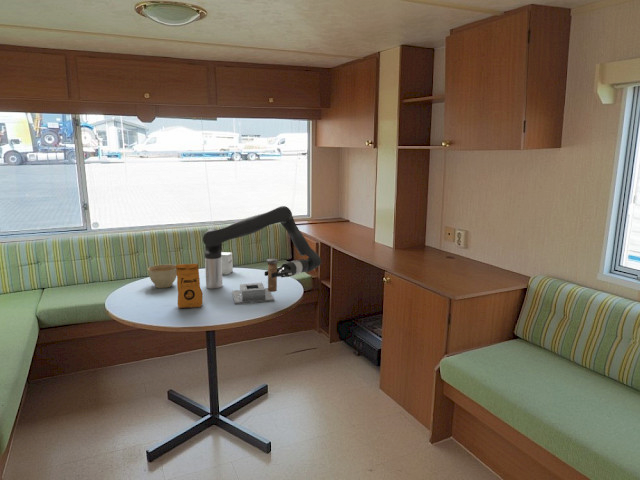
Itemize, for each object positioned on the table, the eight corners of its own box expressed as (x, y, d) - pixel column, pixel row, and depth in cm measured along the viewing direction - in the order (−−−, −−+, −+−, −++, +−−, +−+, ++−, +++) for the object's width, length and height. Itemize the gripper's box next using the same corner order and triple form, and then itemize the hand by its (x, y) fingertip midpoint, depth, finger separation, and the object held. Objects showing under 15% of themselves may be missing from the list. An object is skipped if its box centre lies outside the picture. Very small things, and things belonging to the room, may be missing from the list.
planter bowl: (177, 289, 257) (176, 270, 254) (147, 291, 253) (146, 272, 251) (179, 281, 272) (178, 263, 270) (150, 282, 268) (149, 264, 266)
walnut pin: (267, 292, 228) (267, 261, 225) (266, 289, 234) (266, 258, 230) (278, 291, 230) (278, 261, 226) (276, 288, 235) (276, 258, 232)
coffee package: (202, 308, 225) (200, 265, 221) (176, 310, 223) (173, 266, 219) (204, 302, 235) (202, 260, 231) (179, 303, 233) (176, 261, 229)
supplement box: (228, 274, 286) (228, 255, 284) (217, 273, 288) (216, 254, 285) (233, 271, 293) (232, 252, 291) (222, 270, 295) (221, 251, 292)
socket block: (235, 304, 232) (234, 294, 231) (232, 292, 251) (231, 282, 250) (274, 301, 237) (273, 291, 236) (268, 289, 256) (268, 280, 255)
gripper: (282, 259, 244) (258, 265, 231) (302, 263, 235) (278, 270, 223) (282, 272, 246) (258, 279, 233) (301, 277, 237) (278, 285, 224)
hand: (268, 274), depth 228 cm, fingers closed on walnut pin, 4 cm apart
